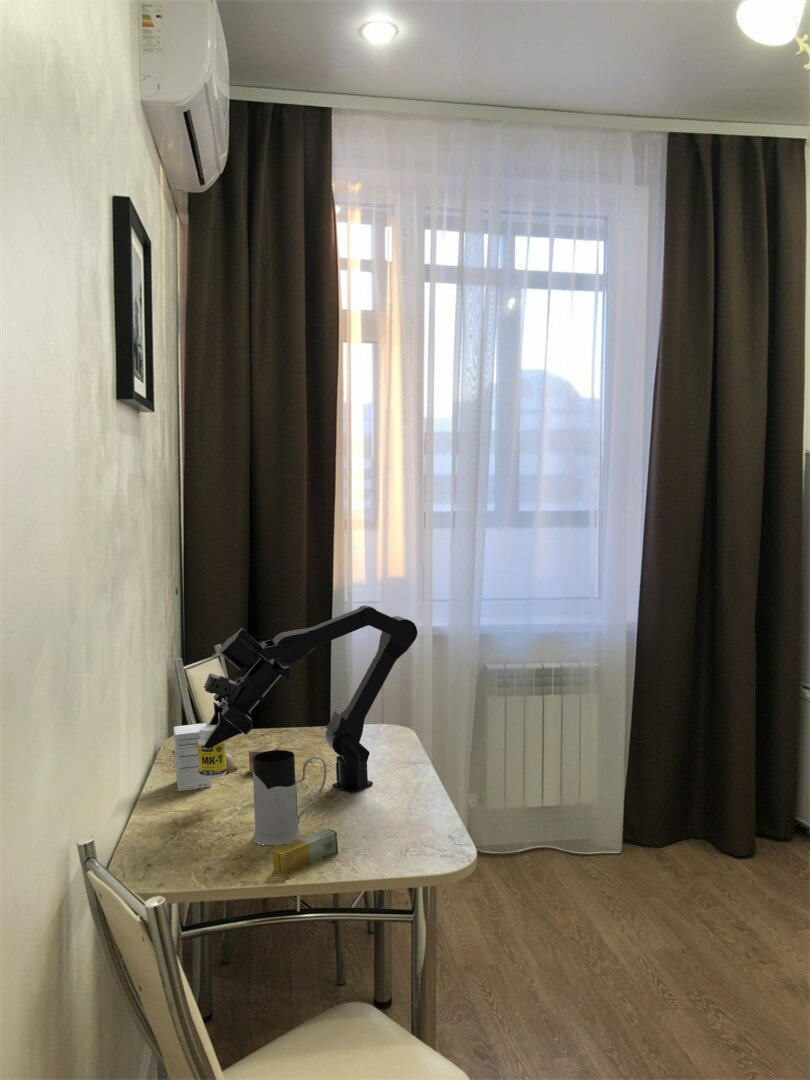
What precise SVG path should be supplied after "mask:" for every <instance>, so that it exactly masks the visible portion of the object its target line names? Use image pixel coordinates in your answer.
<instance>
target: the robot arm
mask: <svg viewBox="0 0 810 1080" xmlns="http://www.w3.org/2000/svg"><path fill="white" fill-rule="evenodd" d="M368 626H370V627H371V628H374V629H377V630H378V631H381V634H380V637H379V643H378V648H377V651H376V653H375V655H374V657H373V659H372V661H371V663H370V664H369V666H368V668H367V670H366V672H365V674H364V676H363V678H362V679H361V681H360V683H359V685H358V687H357V688H356V691H355V692H354V694H353V696H352V698H351V700H350V701H349V704H348V706H347V707H346V708H345V709H344V710H343V711H341V713H338V712H337V711H336V710H335V711H334V712H333V714H332V715H331V719H330V721H329V723H327V724H326V725H325V729H326V732H325V736H324V737H325V741H326V744H328V746H329V747H330V748H331V749H332V750H333V752H335V753H336V754H337V755H338V756H336V763H335V775H336V782H334V783H332V784H331V785H332V787H333V788H336V789H339V790H342V791H347V792H348V793H349V792H350V793H355V792H357V791H360V790H363V789H365V788H367V787H371V786H372V785H373V784H374V782H373V781H372V780H371V781H370V780H368V779H369V778H368V777H369V775H368V760H369V756H370V751H369V750H368V749H367V748H366V747H365V746H364V745H363V744H362V743H361V739H362V736H363V733H364V732H363V731H364V727H365V720H366V717H367V715H368V713H369V712H370V709H371V708H372V706H373V704H374V702H375V701H376V699H377V696H378V695H379V693H380V691H381V689H382V688H383V686H384V684H385V682H386V681H387V678H388V677H389V674H390V673H391V671H392V669H393V667H394V665H395V663H396V662H397V660H398V659H400V658H401V656H403V655H404V654H405V653H407V651H408V650H409V649H410V648H411V646H412V645H413V644H414V642H415V641H416V639H417V637H418V627H417V625H415V622H413V621H412V620H411V619H407V618H404V617H402V616H399V615H398V616H396V615H395V616H390V615H387V614H386V613H383V612H381V611H379V610H377V609H376V608H374V607H372V606H370V605H366V604H365V605H361V606H359V607H358V608H357V609H354V610H351V611H349V612H346V613H344V614H341V615H338V616H336V617H333V618H331V619H329V620H327V621H324V622H321V623H319V624H317V625H314V626H311V627H307V628H300V629H292V630H288V631H283V632H280V633H278V634H277V635H275V636H274V637H273V639H269V640H265V641H260V642H258V641H256V640H255V639H254V638H253V637H252V636H251V635H250V634H249V633H248V632H247V631H246V630H245V629H244V628H243V627H241V628H240V629H239V630H238V631H237V632H235V633H234V634H233V635H231V636H230V637H228V638H227V639H226V640H225V642H224V643H223V644H222V646H221V647H220V649H219V651H218V653H219V655H221V656H222V657H223V658H225V659H226V660H228V661H229V662H230V663H231V664H232V665H233V666H234V667H236V668H237V669H238V670H240V671H242V670H243V669H245V670H248V671H247V672H246V674H245V675H244V676H243V677H242V676H240V677H238V678H237V679H236V680H232V679H230V678H228V677H224V676H223V675H217V674H215V673H209V674H208V677H207V679H206V681H205V684H204V686H203V688H204V691H205V692H206V693H209V694H214V695H213V700H214V701H213V714H212V717H211V719H210V721H209V722H208V725H217V726H216V727H215V729H214V730H213V732H212V733H211V735H210V737H209V738H208V740H207V741H206V743H205V745H204V746H205V747H206V748H207V749H209V748H211V747H213V746H215V745H217V744H219V743H221V742H223V741H225V742H226V741H227V740H229V739H231V738H234V737H237V735H242V734H244V735H246V736H247V735H248V734H249V733H250V732H251V730H252V729H253V728H254V727H253V726H254V725H253V720H252V718H251V717H250V716H252V713H251V712H252V710H254V708H255V707H256V706H257V705H258V703H259V702H260V703H262V702H263V701H264V700H265V699H266V698H265V695H266V694H267V693H268V692H269V691H270V689H271V688H272V687H273V686H274V684H276V682H277V681H278V680H279V679H280V677H283V678H284V679H285V680H286V681H288V682H290V681H291V674H290V673H291V672H290V671H291V667H289V666H288V665H286V666H283V665H282V664H281V663H280V662H282V663H284V664H293V663H296V662H298V661H300V660H301V659H302V658H304V657H306V656H307V655H309V654H310V653H311V652H312V651H314V650H315V649H316V648H318V647H319V646H321V645H324V644H326V643H328V642H331V641H333V640H335V639H338V638H341V637H344V636H346V635H348V634H350V633H353V632H355V631H358V630H359V629H363V628H365V627H368ZM262 652H263V654H265V655H266V656H267V657H269V658H271V659H270V660H268V659H267V658H265V657H264V656H263V654H261V653H262ZM276 658H277V659H278V660H279V661H280V662H278V661H277V660H276ZM216 702H217V703H216Z"/></svg>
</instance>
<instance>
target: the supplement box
mask: <svg viewBox="0 0 810 1080" xmlns="http://www.w3.org/2000/svg"><path fill="white" fill-rule="evenodd" d="M204 726H208V725H207V723H206V722H203V723H193V724H187V725H186V724H184V725H177V726H173V742H174V743H173V745H174V761H175V763H174V764H175V778H176V780H175V781H176V784H177V791H178V792H182V791H184V792H185V791H191V790H192V789H193V790H198V789H197V788H200V789H204V788H203V787H207V788H209V787H208V786H211V787H212V778H202V777H201V776H200V775H199V759H198V740H199V739H200V738H201V737H200V728H201V727H204Z"/></svg>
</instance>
